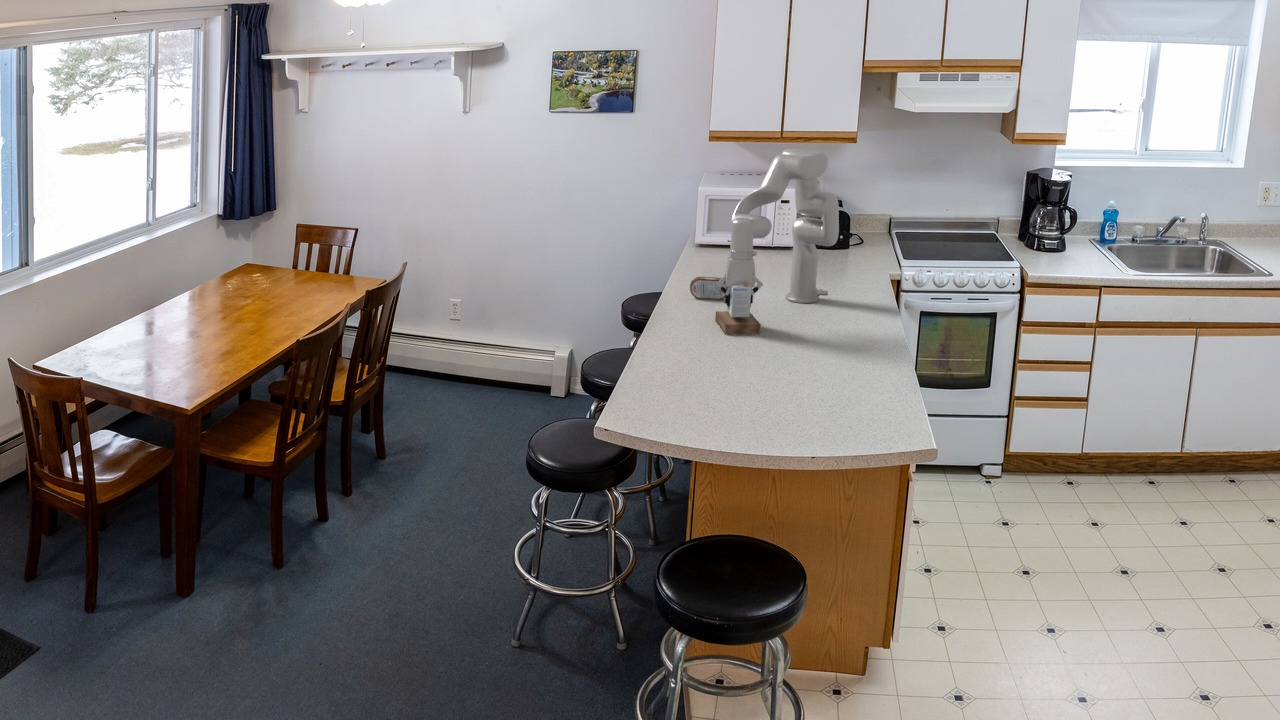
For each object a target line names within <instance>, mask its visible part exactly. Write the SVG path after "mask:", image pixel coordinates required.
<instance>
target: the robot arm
mask: <svg viewBox="0 0 1280 720" xmlns="http://www.w3.org/2000/svg"><path fill="white" fill-rule="evenodd" d="M828 167H829V158H828V156H827V154H825V153H824V152H822V151H819V150H817V151H816V150H810V149H804V148H803V149H802V148H786V149H784V150H783V151H782V152H781V153H780V154H777V155H776V156H775V157H774V158H773V159H772V161H771V163H770V165H769V167H768V169H767V172H766V173H765V175H764V177H763V180H762V181H761V183H760V186H758V188H755V189H754V190H752V191H750V192H749V193H748V194H746V195H745V196H744V197H743V198H742V199H741V200H739V202H738V203H737V205H736V207H735V210H734V212H733V213H732V216H731V219H730V223H729V228H730V230H731V232H730V247H729V249H730V250H729V251H730V253H729V257H727V260H726V264H725V270H724V276H723V277H721V278H722V279H720V280H719V281H718V282H717V283H716V284H717V286H718V287H719V288H720V289H721V290H722V291H723V292H724V293H725V298H724V304H725V305H726V307H727V306H728V307H729V306H730V295H729V293H730V291H731V287H732V285H743V284H748V285H751V287H752V288H751V302H750V308H751V307H752V305H753V302H754V295H755V293H757V292H758V291H759V290H760V289H761V288H762V287H763V285H764V284H763V282H762V281H761V280H760V279H759V278H757V276H756V266H755V258H753V257H755V256H756V257H757V255H758V253H757V251H754V250H753V248H754V240H755V239H764V238H766V237H767V236H768V235H770V233H771V231H772V228H773V227H772V221H771V220H770V219H769V218H768V217H766V216H763V215H757V214H752V213H751V212H752V211H754V209H756V208H759V207H762V206H766V205H769V204H772V203H775V202H779V200H781V199H782V197H783V195H784V193H785V191H786V189H787V187H788V185H789V183H790V181H791V180H794V181H793V182H794V195H795V196H794V198H795V199H794V201H795V211H796V213H798V214H799V215H803V216H802V217H798V218H797V219H795V221H793V223H792V228H791V234H792V244H793V245H792V247H793V248H792V250H793V251H792V261H791V275H790V276H791V277H790V291H789V292H788V293H787V294H785V299H786V300H787V301H789V302H792V303H797V304H813V303H817V302H818V301H820V296H828V295H829V292H828V290H826V289H825V290H824V289H818V288H817V276H818V275H817V274H818V265H819V264H818V263H819V252H818V249H817V247H816V245H818V246H823V247H832V246H834V245H835V244H836V243H837V241H838V239H839V234H840V233H839V232H840V223H839V222H840V220H839V219H840V217H839V216H840V215H839V214H840V212H839V210H840V209H839V208H840V207H839V200H838V197H837V196H836V195H835V194H834V193H831V192H828V191H827V192H826V191H821V190H820V189H819V177H821V176H823V174H825V173H826V171H827V169H828ZM724 282H725V284H726V286H727V287H726V289H725V288H724V287H723V286H722V283H724Z"/></svg>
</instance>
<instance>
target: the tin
mask: <svg viewBox="0 0 1280 720" xmlns="http://www.w3.org/2000/svg"><path fill="white" fill-rule="evenodd" d="M722 278H723V277H716V276H713V277H712V276H697V277H695V278H693V279H692V280H691V281H690V284H689V291H690V294H691V296H693V297H694V298H696V299H699V300H711V299H714V300H713V301H721V300H725V293H724V292H723V291H722V290H721V289H720V288H719V287H718V286H717V284H716V283H717V282H718V281H719V280H720V279H722ZM722 286H723V287H724V288H725V289H726V287H727V286H726V284H725V282H724V283H722Z"/></svg>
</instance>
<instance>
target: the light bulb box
mask: <svg viewBox="0 0 1280 720" xmlns="http://www.w3.org/2000/svg"><path fill="white" fill-rule="evenodd" d="M751 288H752V289H753V287H751V285H748V284H743V285H732V287H731V291H730V293H729V295H730V306H729V307H728V306H727V305H726V310H727V311H728V312H729V314H730V316H731V317H750V313H751V307H750V302H751Z"/></svg>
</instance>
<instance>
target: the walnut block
mask: <svg viewBox="0 0 1280 720" xmlns="http://www.w3.org/2000/svg"><path fill="white" fill-rule="evenodd" d="M714 321H715V323H716V322H717V323H716V324H717V326H718V325H719V326H720V327H719V326H718V327H719V328H720V330H721V329H722V330H721V332H723V334H724V335H725V336H727V335H730V334H732V335H760V334H761V323H760V322H759V321H758V320H757V319H756V317H755V316H754V315H753V314H752V312H750V317H731V316H730V314H729V312H728V310H727V311H725V310H723V311H722V310H719V311H718V310H717V311H715V319H714ZM726 334H727V335H726Z"/></svg>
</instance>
